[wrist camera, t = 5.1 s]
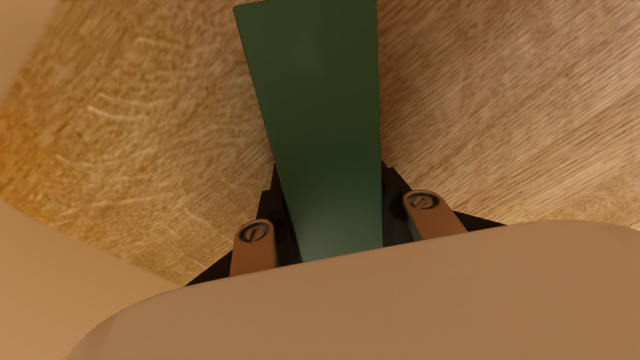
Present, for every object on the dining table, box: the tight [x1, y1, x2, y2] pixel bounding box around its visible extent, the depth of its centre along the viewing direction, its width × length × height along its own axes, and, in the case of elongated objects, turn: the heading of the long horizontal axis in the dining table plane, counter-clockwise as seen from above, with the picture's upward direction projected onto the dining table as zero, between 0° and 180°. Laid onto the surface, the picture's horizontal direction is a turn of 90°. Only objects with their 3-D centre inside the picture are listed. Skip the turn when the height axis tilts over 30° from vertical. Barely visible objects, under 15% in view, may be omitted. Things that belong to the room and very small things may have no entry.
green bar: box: [233, 0, 383, 263], centre depth 10 cm, size 14×3×4 cm, turn 9°
